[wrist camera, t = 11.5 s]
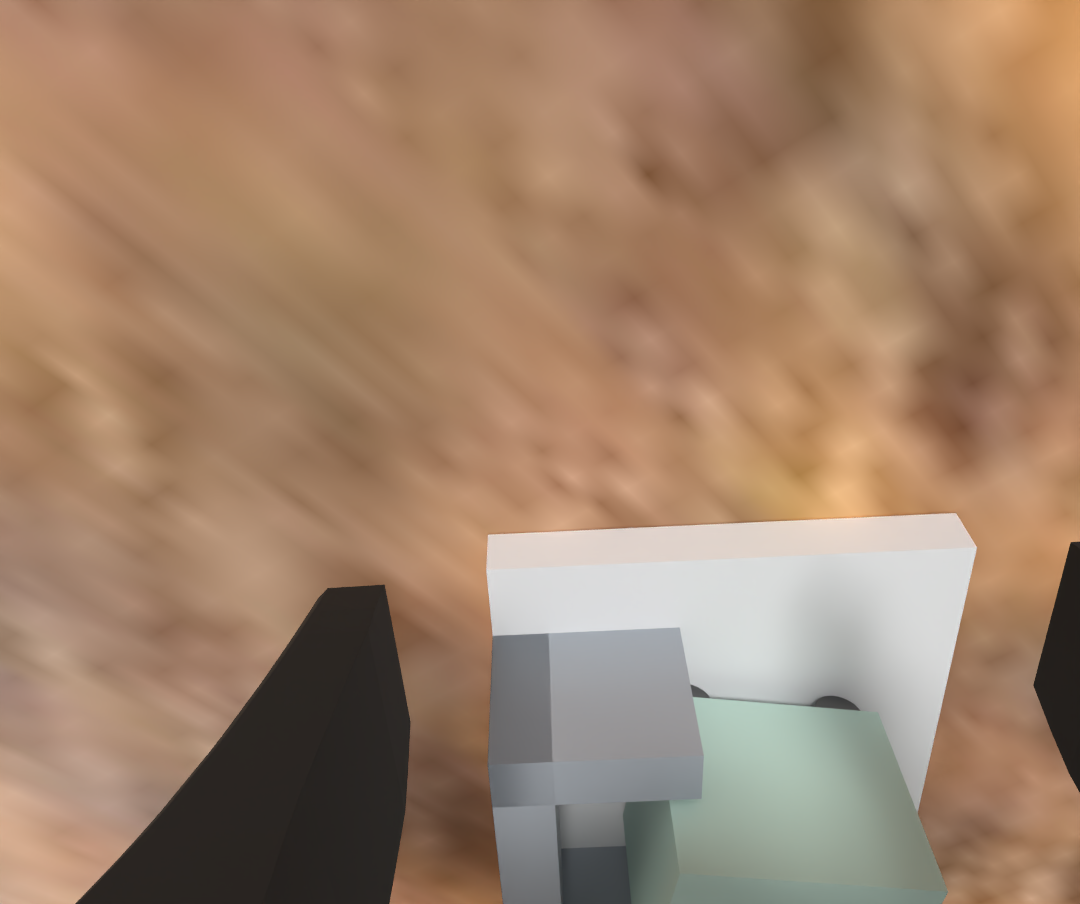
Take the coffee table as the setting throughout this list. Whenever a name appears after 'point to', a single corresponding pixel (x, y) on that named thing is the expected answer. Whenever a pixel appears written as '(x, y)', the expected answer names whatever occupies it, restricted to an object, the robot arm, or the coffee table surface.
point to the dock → (694, 665)
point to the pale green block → (785, 815)
